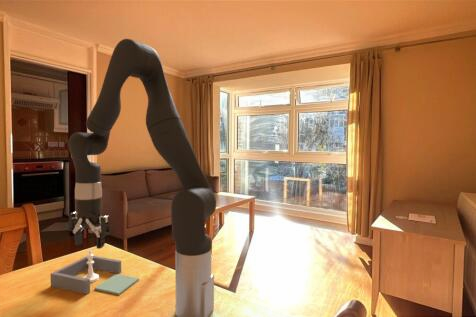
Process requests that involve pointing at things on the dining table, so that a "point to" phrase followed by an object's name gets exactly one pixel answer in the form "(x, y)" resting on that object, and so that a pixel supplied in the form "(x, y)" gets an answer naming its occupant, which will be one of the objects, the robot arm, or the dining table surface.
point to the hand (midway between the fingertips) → (89, 246)
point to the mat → (117, 284)
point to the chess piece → (91, 268)
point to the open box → (67, 277)
